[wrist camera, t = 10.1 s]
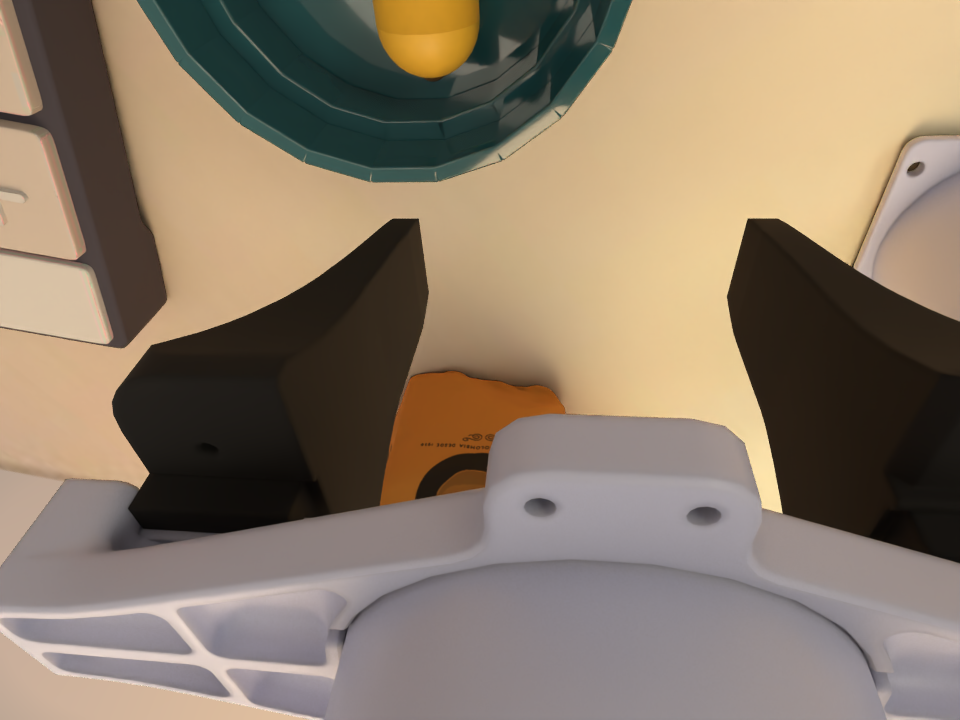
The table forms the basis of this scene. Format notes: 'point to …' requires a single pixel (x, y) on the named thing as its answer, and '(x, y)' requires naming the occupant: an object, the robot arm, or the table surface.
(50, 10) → the calculator
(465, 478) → the coffee package
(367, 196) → the table surface
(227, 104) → the teal bowl
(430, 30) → the amber tube
